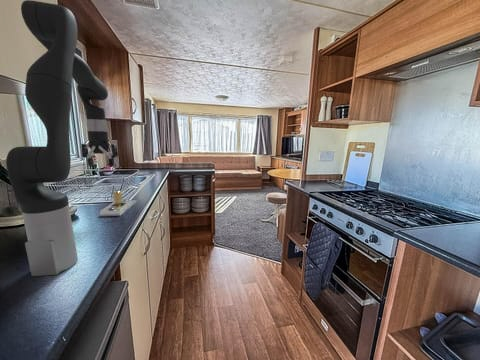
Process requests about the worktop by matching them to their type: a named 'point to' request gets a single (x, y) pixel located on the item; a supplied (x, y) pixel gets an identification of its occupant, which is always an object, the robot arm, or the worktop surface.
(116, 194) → the pin
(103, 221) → the worktop surface
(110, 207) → the grey flat block
